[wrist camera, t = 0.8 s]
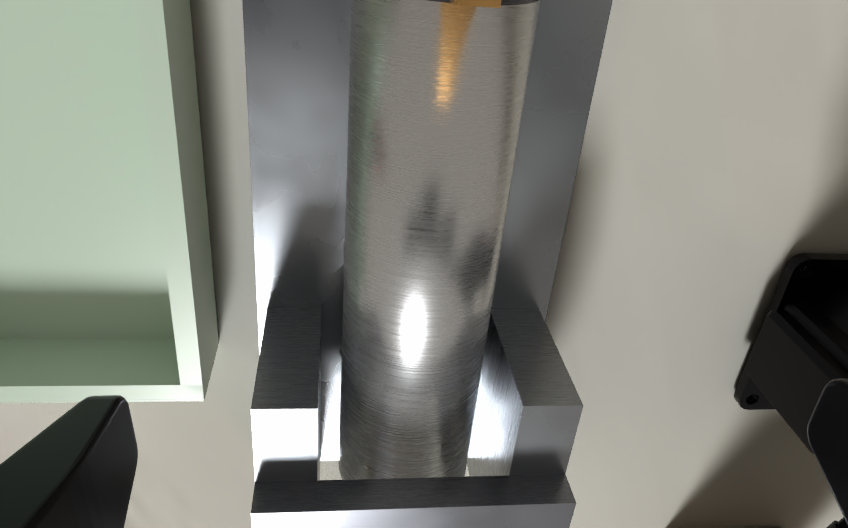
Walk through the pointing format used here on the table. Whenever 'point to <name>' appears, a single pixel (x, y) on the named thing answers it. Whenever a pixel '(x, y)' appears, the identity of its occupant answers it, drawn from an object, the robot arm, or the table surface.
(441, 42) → the silver oval rod
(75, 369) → the tray
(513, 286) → the bracket
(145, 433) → the table surface
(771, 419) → the table surface
